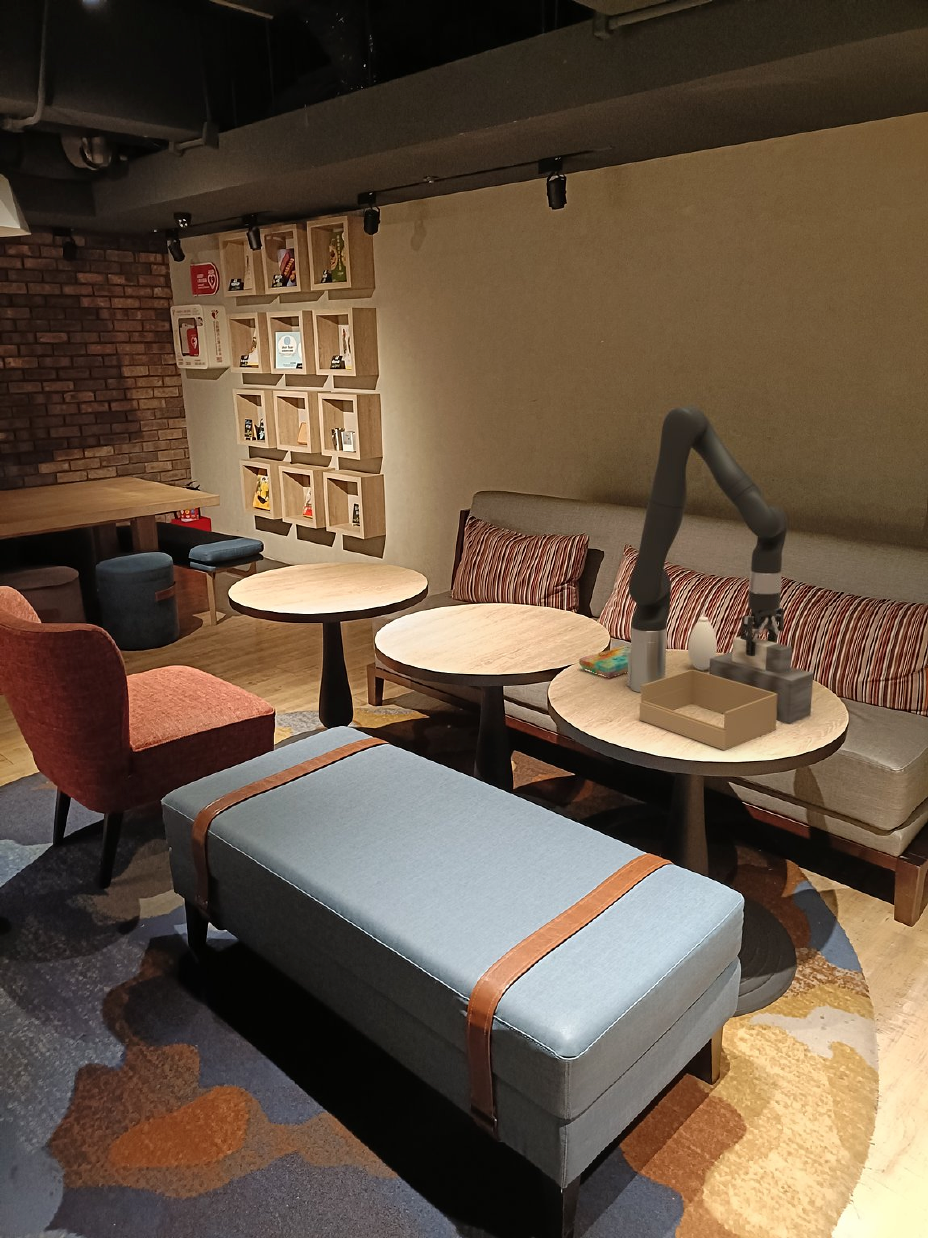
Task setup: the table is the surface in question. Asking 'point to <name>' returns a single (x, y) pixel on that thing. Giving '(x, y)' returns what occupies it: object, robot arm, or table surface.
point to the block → (763, 655)
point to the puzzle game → (607, 662)
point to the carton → (740, 703)
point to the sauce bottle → (702, 644)
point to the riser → (771, 685)
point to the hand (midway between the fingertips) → (760, 652)
